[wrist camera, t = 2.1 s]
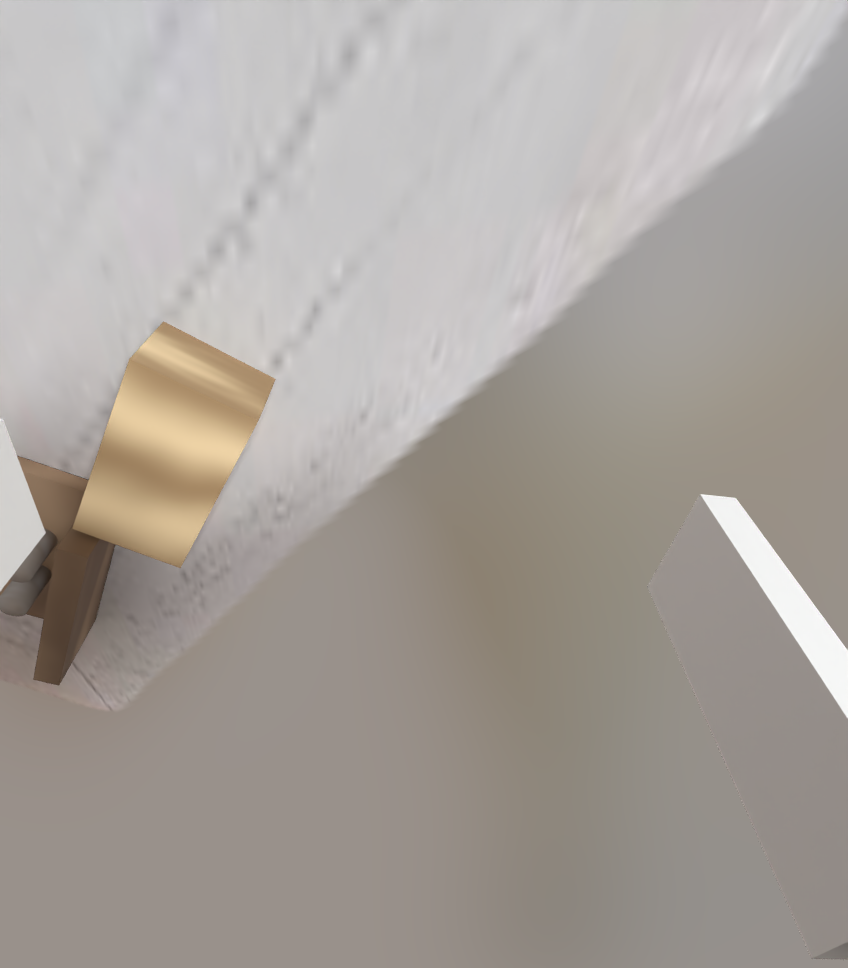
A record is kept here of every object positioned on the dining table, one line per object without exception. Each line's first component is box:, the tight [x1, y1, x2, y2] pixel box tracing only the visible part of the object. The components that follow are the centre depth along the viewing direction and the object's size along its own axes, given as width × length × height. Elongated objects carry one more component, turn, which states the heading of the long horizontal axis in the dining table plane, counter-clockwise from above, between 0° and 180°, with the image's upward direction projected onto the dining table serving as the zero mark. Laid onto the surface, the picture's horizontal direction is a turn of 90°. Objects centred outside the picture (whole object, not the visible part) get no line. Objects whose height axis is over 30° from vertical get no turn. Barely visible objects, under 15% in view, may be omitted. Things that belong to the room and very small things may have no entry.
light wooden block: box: [72, 322, 275, 568], centre depth 30 cm, size 12×6×4 cm, turn 147°
